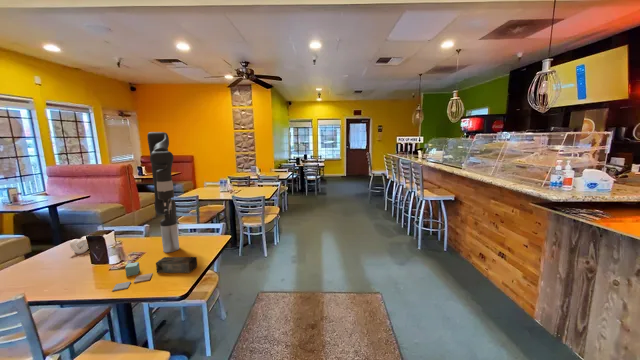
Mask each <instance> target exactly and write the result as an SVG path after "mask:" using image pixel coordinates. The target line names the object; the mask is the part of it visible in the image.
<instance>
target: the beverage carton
mask: <svg viewBox="0 0 640 360" xmlns="http://www.w3.org/2000/svg"><path fill="white" fill-rule="evenodd" d="M197 267H198V260H197V256H164V257H162V258H161V259H158V261H156V262H155V269H156V273H160V274H168V273H169V274H174V273H175V274H177V273H178V274H179V273H180V274H181V273H182V274H183V273H184V274H186V273H188V274H189V273H192V272H193V271H194V270H195V269H196V268H197Z"/></svg>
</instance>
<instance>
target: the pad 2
mask: <svg viewBox="0 0 640 360" xmlns="http://www.w3.org/2000/svg"><path fill="white" fill-rule="evenodd" d="M152 276H153V272H151V273H145V274H139V275H138V274H137V275H136V277H135V279H134V281H133V284H137V283H144V282H150V281H151V279H152Z"/></svg>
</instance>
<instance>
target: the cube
mask: <svg viewBox="0 0 640 360" xmlns="http://www.w3.org/2000/svg"><path fill="white" fill-rule="evenodd" d="M140 271H141V270H140V262H139V261H136V262H130V263H127V264H126V266H125V276H126V277H130V276H138V274H139V273H140Z"/></svg>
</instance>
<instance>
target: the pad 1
mask: <svg viewBox="0 0 640 360" xmlns="http://www.w3.org/2000/svg"><path fill="white" fill-rule="evenodd" d="M130 285H131V281H126V282H121V283H116V284H115V285H114V287H113V288H112V291H111V292H116V291H121V290H127V289H128V288H129V286H130Z"/></svg>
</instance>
